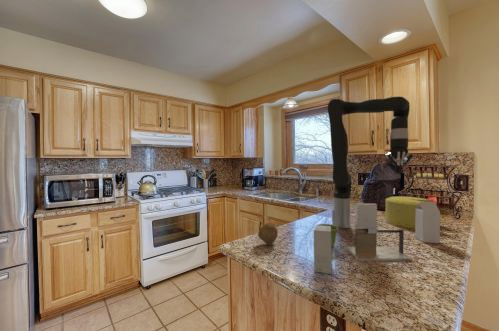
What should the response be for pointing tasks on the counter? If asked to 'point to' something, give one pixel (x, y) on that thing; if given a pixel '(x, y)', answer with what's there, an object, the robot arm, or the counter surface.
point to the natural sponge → (268, 233)
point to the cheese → (402, 210)
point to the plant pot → (332, 233)
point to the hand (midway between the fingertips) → (398, 173)
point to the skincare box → (322, 249)
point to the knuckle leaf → (366, 217)
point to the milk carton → (427, 222)
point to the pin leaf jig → (369, 251)
